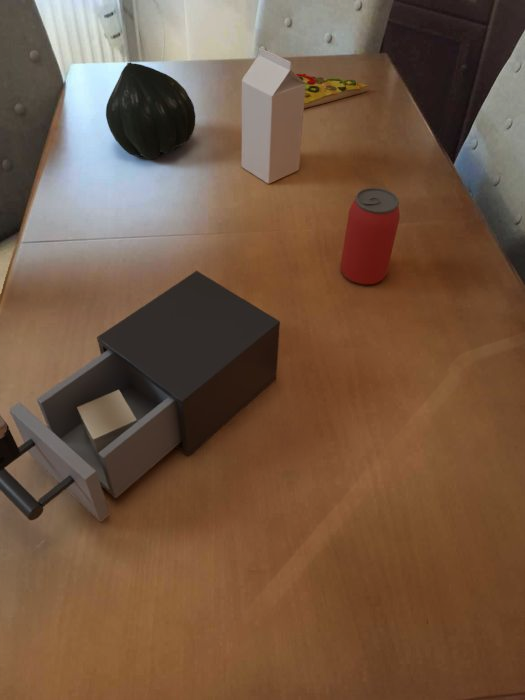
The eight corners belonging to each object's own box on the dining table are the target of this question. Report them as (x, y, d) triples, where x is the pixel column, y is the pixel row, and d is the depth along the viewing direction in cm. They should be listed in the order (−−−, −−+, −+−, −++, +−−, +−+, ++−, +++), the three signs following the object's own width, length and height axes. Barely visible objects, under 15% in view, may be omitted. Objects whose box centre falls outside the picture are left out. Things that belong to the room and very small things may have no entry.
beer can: (331, 263, 86) (342, 190, 77) (371, 253, 88) (385, 181, 79) (354, 291, 82) (367, 218, 73) (395, 280, 84) (413, 207, 75)
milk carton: (268, 185, 100) (273, 68, 86) (241, 167, 103) (241, 53, 90) (299, 171, 103) (308, 56, 89) (271, 154, 107) (276, 42, 93)
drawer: (57, 560, 54) (36, 520, 49) (-13, 486, 59) (-40, 442, 54) (200, 435, 64) (196, 389, 59) (129, 380, 69) (120, 333, 63)
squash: (217, 130, 101) (181, 41, 98) (137, 157, 95) (96, 63, 92) (191, 154, 114) (158, 76, 111) (119, 179, 108) (83, 97, 105)
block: (101, 465, 60) (93, 439, 57) (85, 433, 63) (76, 407, 59) (142, 445, 62) (137, 419, 58) (125, 415, 64) (118, 389, 61)
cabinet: (188, 457, 63) (182, 401, 56) (111, 395, 69) (96, 337, 62) (276, 379, 71) (280, 321, 64) (200, 328, 76) (196, 270, 69)
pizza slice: (264, 81, 128) (264, 66, 126) (357, 76, 131) (359, 62, 128) (278, 114, 117) (279, 99, 115) (379, 108, 120) (381, 93, 118)
